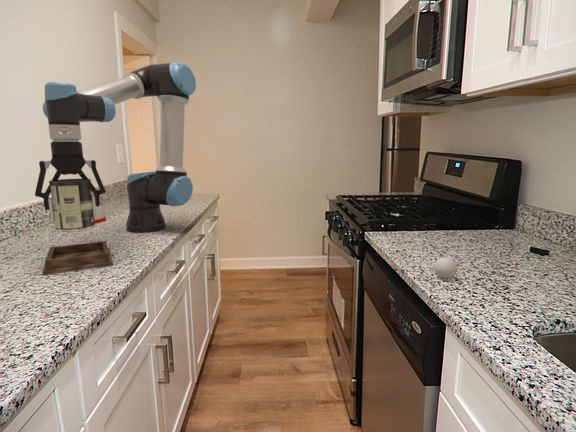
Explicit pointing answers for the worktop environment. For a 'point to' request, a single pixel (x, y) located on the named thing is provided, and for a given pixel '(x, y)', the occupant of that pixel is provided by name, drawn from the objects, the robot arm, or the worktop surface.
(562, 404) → the worktop surface
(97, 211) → the kitchen timer
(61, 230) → the coffee can
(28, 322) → the worktop surface
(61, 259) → the can holder
